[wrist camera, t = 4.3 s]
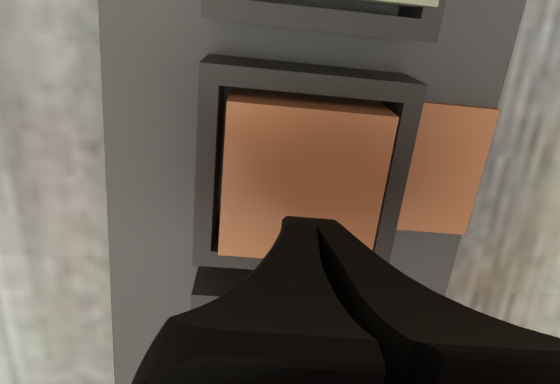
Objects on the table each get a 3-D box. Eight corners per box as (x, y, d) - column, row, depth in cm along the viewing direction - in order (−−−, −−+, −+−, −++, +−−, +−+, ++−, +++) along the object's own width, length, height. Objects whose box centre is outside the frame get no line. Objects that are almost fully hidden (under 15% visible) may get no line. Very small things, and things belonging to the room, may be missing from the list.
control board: (563, -253, 14) (683, -356, 10) (396, 398, 25) (423, 479, 20) (106, -323, 14) (37, -468, 9) (127, 385, 24) (98, 467, 19)
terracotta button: (375, 97, 16) (399, 117, 13) (353, 225, 18) (369, 266, 15) (233, 84, 16) (226, 101, 13) (224, 215, 18) (217, 255, 15)
